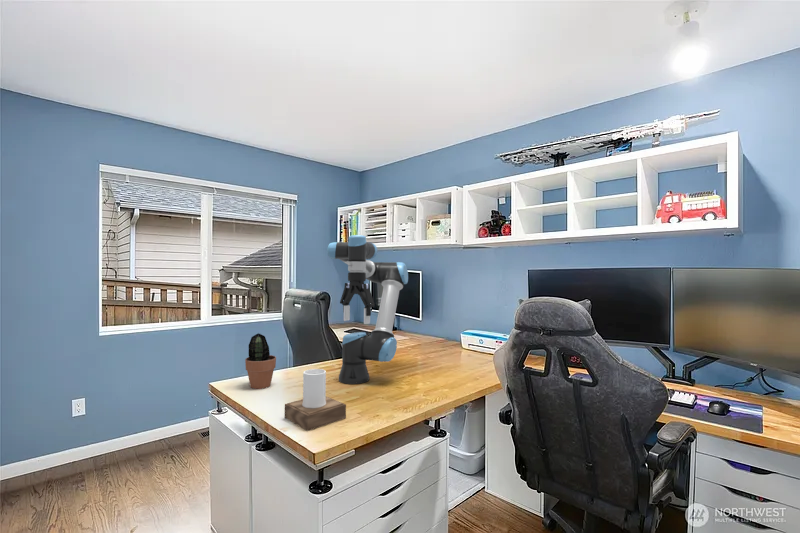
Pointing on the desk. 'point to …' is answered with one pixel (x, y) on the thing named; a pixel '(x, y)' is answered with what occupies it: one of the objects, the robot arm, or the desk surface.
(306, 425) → the tray
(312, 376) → the mug
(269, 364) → the potted plant
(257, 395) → the desk surface
